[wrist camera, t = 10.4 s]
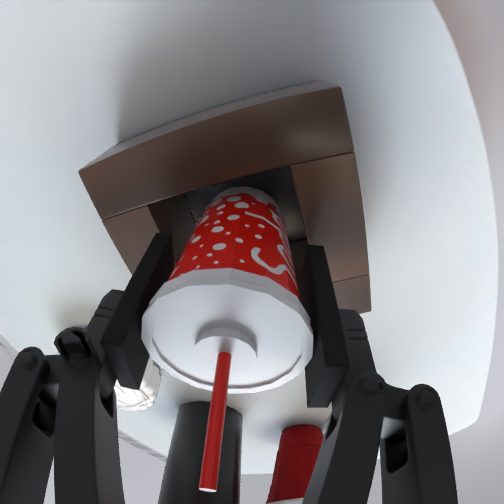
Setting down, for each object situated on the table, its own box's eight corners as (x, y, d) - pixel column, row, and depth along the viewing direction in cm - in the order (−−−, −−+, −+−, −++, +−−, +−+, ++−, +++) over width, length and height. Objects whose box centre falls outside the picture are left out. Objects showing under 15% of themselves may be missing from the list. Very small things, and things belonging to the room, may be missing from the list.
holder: (116, 144, 18) (77, 171, 14) (321, 80, 15) (341, 86, 11) (189, 296, 25) (176, 344, 21) (355, 263, 22) (371, 311, 18)
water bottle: (156, 404, 36) (124, 563, 17) (219, 391, 33) (197, 585, 14) (203, 434, 41) (186, 571, 22) (263, 424, 38) (256, 581, 18)
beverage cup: (307, 254, 19) (335, 501, 7) (213, 275, 20) (168, 500, 9) (281, 159, 16) (304, 451, 4) (174, 191, 17) (47, 435, 5)
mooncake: (177, 361, 30) (171, 390, 27) (144, 400, 36) (138, 423, 33) (71, 308, 27) (56, 335, 24) (62, 360, 32) (51, 382, 30)
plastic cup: (307, 448, 43) (309, 513, 33) (250, 436, 40) (246, 509, 30) (355, 424, 38) (364, 499, 28) (296, 410, 35) (299, 499, 25)
